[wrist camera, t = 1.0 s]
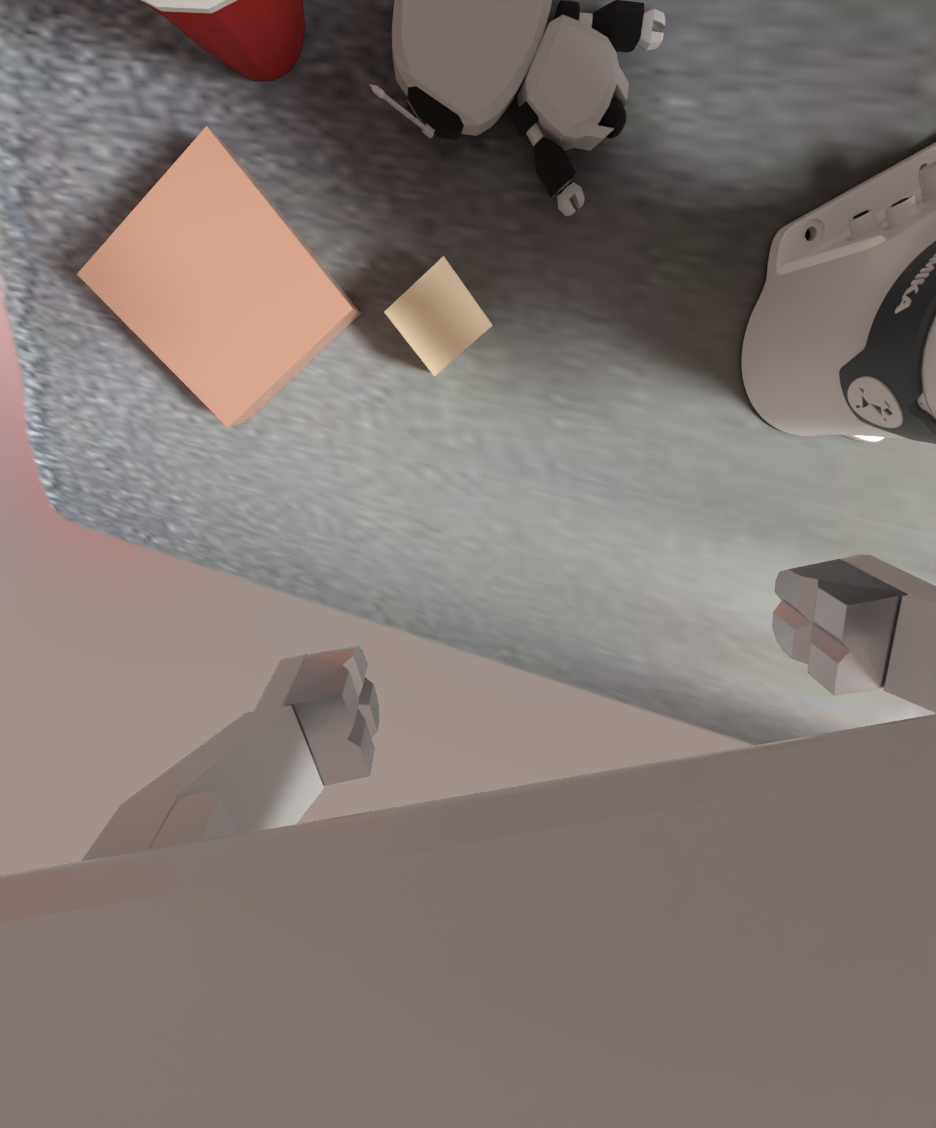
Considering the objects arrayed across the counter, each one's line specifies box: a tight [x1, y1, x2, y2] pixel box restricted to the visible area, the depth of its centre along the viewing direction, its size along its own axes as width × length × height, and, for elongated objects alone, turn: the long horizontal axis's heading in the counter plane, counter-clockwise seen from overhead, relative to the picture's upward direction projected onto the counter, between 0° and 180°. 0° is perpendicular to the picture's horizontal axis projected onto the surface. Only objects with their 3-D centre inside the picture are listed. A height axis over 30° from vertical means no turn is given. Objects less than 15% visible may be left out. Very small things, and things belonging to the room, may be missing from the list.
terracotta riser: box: [77, 126, 361, 427], centre depth 34 cm, size 12×12×4 cm
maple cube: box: [384, 256, 492, 376], centre depth 35 cm, size 5×5×5 cm
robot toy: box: [370, 0, 666, 216], centre depth 30 cm, size 12×4×15 cm
